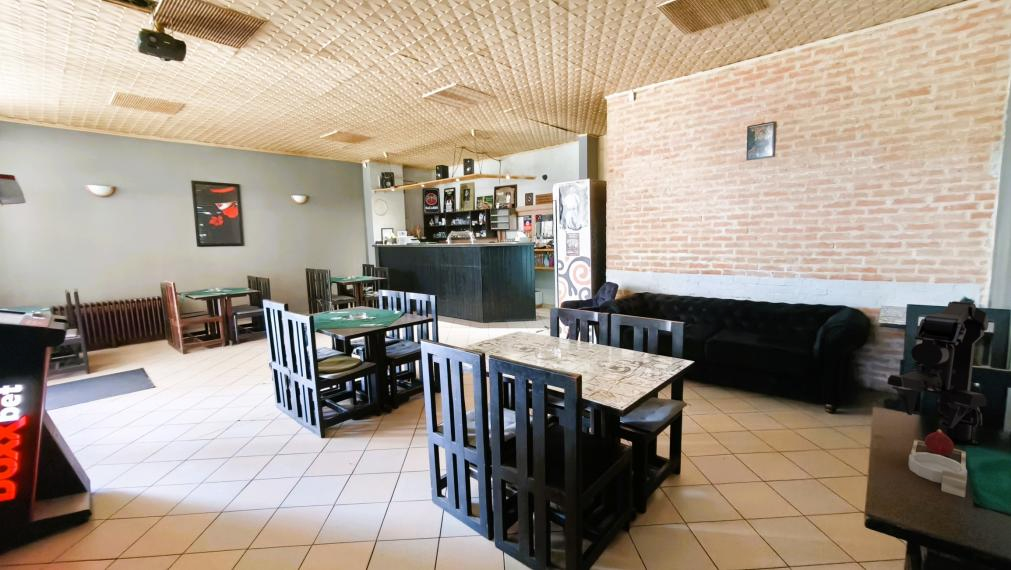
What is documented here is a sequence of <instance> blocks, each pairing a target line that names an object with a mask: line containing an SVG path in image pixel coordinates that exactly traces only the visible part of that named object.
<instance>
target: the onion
mask: <svg viewBox="0 0 1011 570" xmlns="http://www.w3.org/2000/svg"><path fill="white" fill-rule="evenodd" d="M924 442H925V445H926V447H925V448H926V449H927V450H928V451H929V452H930V453H932V454H937V455H941V456H944V457H946V456H948V455H950V454H953V453H952V451H953V449H955V444H954V443H953V442H952V441H951V439H950V438H949V437H948V436H947V435H945V434H943V432H942V431H941V430H940V428H939V429H937V430H936V431H935V432H932V433H929V434H928V435H927V436H926V437H925V438H924Z"/></svg>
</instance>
